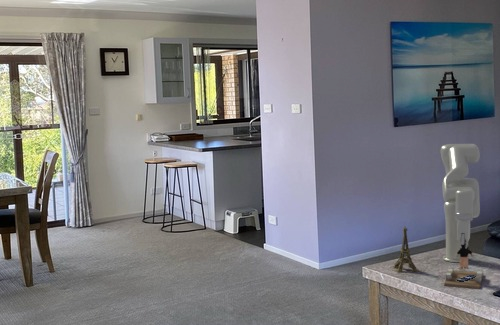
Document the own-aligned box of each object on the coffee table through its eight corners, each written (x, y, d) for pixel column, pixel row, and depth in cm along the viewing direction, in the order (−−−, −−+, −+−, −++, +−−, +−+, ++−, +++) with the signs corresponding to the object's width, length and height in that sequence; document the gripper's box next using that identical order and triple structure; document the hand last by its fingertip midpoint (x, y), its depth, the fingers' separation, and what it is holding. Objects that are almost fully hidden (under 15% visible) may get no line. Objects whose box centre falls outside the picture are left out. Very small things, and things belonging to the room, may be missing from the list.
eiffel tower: (397, 272, 312) (396, 222, 309) (392, 266, 323) (391, 218, 320) (419, 271, 312) (418, 221, 309) (413, 266, 323) (412, 217, 320)
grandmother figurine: (458, 269, 293) (458, 242, 291) (455, 267, 296) (454, 240, 295) (474, 268, 293) (474, 241, 291) (471, 266, 297) (471, 239, 295)
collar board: (450, 272, 308) (450, 265, 308) (483, 275, 302) (483, 267, 302) (444, 285, 289) (444, 278, 288) (479, 288, 282) (479, 281, 282)
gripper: (457, 213, 301) (457, 251, 303) (453, 219, 286) (453, 259, 288) (474, 213, 298) (474, 252, 300) (471, 220, 283) (471, 260, 285)
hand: (464, 255), depth 294 cm, fingers closed on grandmother figurine, 3 cm apart
